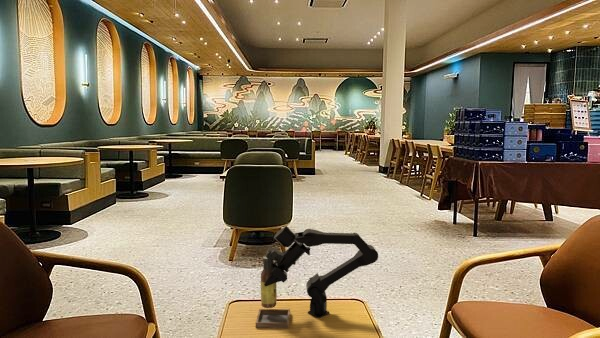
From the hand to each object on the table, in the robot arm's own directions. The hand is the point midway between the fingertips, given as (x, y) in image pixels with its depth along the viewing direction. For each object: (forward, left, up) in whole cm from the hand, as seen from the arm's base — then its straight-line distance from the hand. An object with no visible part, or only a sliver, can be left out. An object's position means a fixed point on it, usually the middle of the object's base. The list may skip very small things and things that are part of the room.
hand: (264, 282), depth 180 cm
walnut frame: (+1, +7, -13) cm, 15 cm away
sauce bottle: (-1, +1, -10) cm, 10 cm away
